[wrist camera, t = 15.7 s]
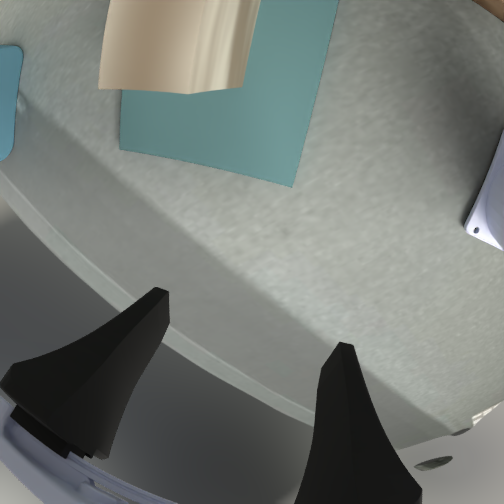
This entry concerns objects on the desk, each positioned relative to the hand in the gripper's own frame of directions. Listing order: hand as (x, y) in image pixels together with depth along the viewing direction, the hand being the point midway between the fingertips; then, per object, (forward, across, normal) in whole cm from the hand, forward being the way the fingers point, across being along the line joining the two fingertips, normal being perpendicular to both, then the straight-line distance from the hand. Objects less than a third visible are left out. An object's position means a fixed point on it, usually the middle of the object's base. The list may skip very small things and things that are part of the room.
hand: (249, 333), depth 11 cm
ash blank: (+9, +6, -11) cm, 15 cm away
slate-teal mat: (+9, +6, -11) cm, 16 cm away
